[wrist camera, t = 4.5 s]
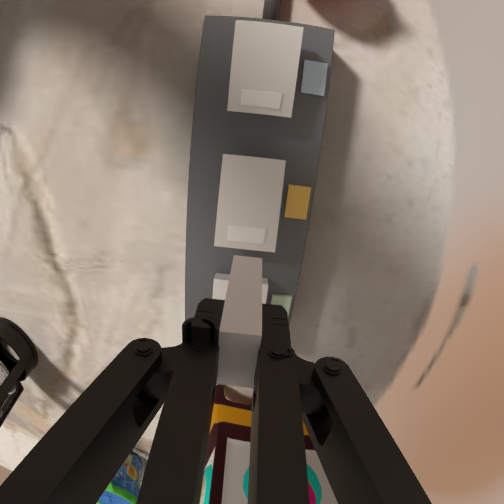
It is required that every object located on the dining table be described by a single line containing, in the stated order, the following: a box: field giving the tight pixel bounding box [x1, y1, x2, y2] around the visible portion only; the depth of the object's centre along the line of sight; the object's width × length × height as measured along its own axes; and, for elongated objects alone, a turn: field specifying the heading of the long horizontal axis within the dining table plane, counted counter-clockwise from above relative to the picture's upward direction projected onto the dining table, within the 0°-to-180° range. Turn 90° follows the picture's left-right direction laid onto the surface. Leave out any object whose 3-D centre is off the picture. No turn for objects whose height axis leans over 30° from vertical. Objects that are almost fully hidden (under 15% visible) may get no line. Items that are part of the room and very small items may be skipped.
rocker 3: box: [212, 273, 268, 304], centre depth 25 cm, size 6×4×2 cm, turn 174°
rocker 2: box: [214, 154, 286, 253], centre depth 21 cm, size 6×4×2 cm, turn 174°
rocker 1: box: [227, 20, 304, 118], centre depth 18 cm, size 6×4×2 cm, turn 174°
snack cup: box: [97, 453, 142, 504], centre depth 41 cm, size 16×10×10 cm
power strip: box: [185, 0, 335, 324], centre depth 24 cm, size 32×9×4 cm, turn 174°
